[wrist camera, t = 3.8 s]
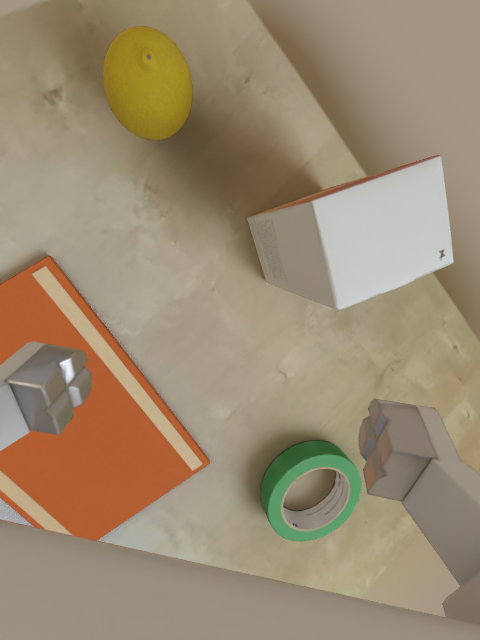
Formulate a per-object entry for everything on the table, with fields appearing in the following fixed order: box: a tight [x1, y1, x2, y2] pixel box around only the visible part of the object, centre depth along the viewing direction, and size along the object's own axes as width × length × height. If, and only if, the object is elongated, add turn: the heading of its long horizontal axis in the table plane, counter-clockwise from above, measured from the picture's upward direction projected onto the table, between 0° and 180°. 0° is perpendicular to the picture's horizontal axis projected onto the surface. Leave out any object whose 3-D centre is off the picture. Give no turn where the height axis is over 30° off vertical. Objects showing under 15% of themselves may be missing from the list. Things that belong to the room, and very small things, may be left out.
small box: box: [247, 155, 453, 310], centre depth 24 cm, size 8×6×13 cm
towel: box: [0, 256, 210, 541], centre depth 28 cm, size 24×16×1 cm, turn 30°
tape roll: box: [261, 441, 361, 541], centre depth 36 cm, size 11×11×3 cm
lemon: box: [103, 26, 193, 140], centre depth 21 cm, size 6×6×8 cm
